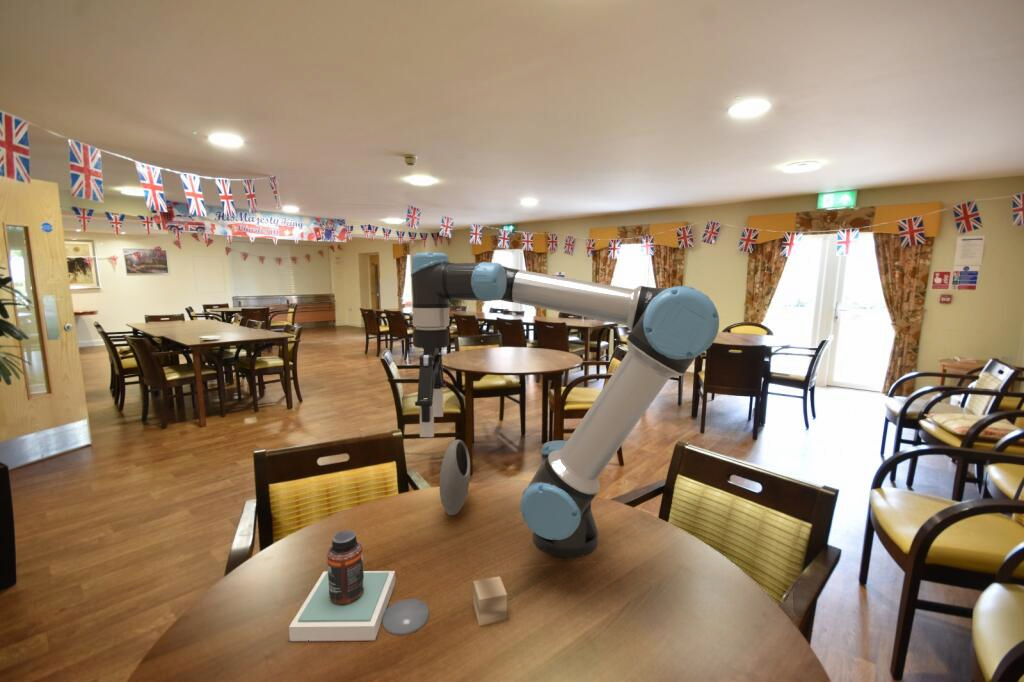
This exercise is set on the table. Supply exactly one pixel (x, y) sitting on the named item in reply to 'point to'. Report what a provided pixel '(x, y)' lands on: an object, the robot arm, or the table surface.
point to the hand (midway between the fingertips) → (432, 425)
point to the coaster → (405, 616)
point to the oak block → (490, 600)
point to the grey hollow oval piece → (454, 477)
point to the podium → (344, 611)
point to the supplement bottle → (345, 568)
